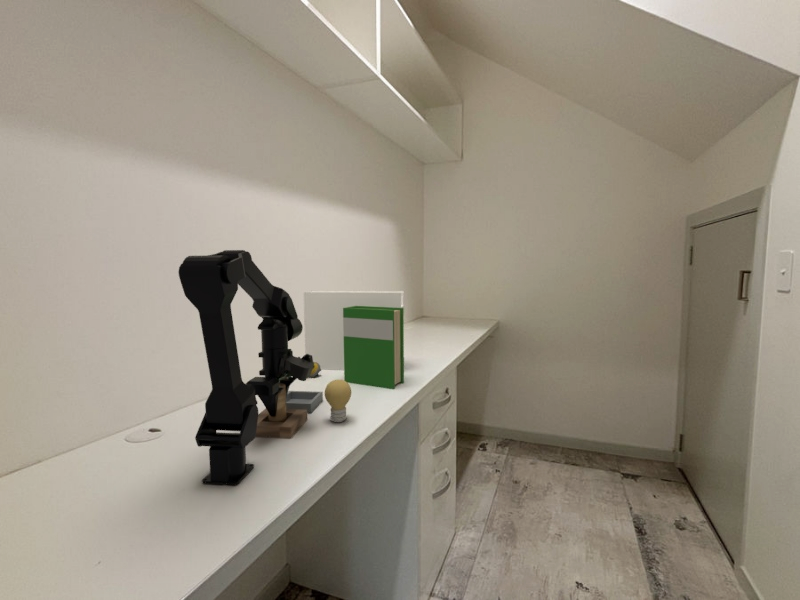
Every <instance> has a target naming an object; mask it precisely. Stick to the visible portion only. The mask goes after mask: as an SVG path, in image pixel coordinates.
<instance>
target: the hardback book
mask: <svg viewBox="0 0 800 600" xmlns="http://www.w3.org/2000/svg"><path fill="white" fill-rule="evenodd" d="M404 321H405V319H404V315H403V308H393V307H371V306H352V307H346V308H343V331H344V371H343V372H344V373H343V374H344V375H343V376H344V381H346V382H347V383H348V384H354V385H361V386H368V387H375V388H381V389H389V390H395V388H396V385H397V384H404V383H405V357H404V356H405V354H404V353H405V352H404V351H405V349H404V348H405V346H404V343H405V342H404V341H405V339H404V338H405V337H404V335H405V334H404V332H405V331H404V328H405V327H404V326H405V325H404V323H405V322H404Z"/></svg>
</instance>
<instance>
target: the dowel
mask: <svg viewBox="0 0 800 600" xmlns="http://www.w3.org/2000/svg"><path fill="white" fill-rule="evenodd" d="M279 388H284V389H283V390H282V391H281V392H280V393H279V394H278V403H277V412H276V416H275V417H271V416H270V414H269V412H268V418H269V422H285V421H286V420H287V415H286V385H285V384H284V383H279Z"/></svg>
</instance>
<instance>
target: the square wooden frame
mask: <svg viewBox="0 0 800 600" xmlns="http://www.w3.org/2000/svg"><path fill="white" fill-rule="evenodd" d="M286 415H287V420H286V421H285V422H269V418H268V411H267V409H266V408H264V409H263V410H262V411H261V412H260V413H258V421H257V430H256V437H255V438H276V439H278V438H279V439H292V437H294V436H295V435H296V434H297V432H298V431H299V430H300V429H301V427H302V426H304V424H305V423H306V422H307V421H308V413H307V410H302V409H286Z"/></svg>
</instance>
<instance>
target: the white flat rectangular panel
mask: <svg viewBox="0 0 800 600" xmlns="http://www.w3.org/2000/svg"><path fill="white" fill-rule="evenodd" d="M352 306H371V307H393V308H403V316H405V291H404V290H310V291H303V319H304V321H303V322H304V323H303V324H304V348H305V349H304V350H305V351H304V355H306V354H309V355H312V358H313V362H317V363H318V364H319V365H320V369H321V371H343V372H344V331H343V308H346V307H352Z"/></svg>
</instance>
